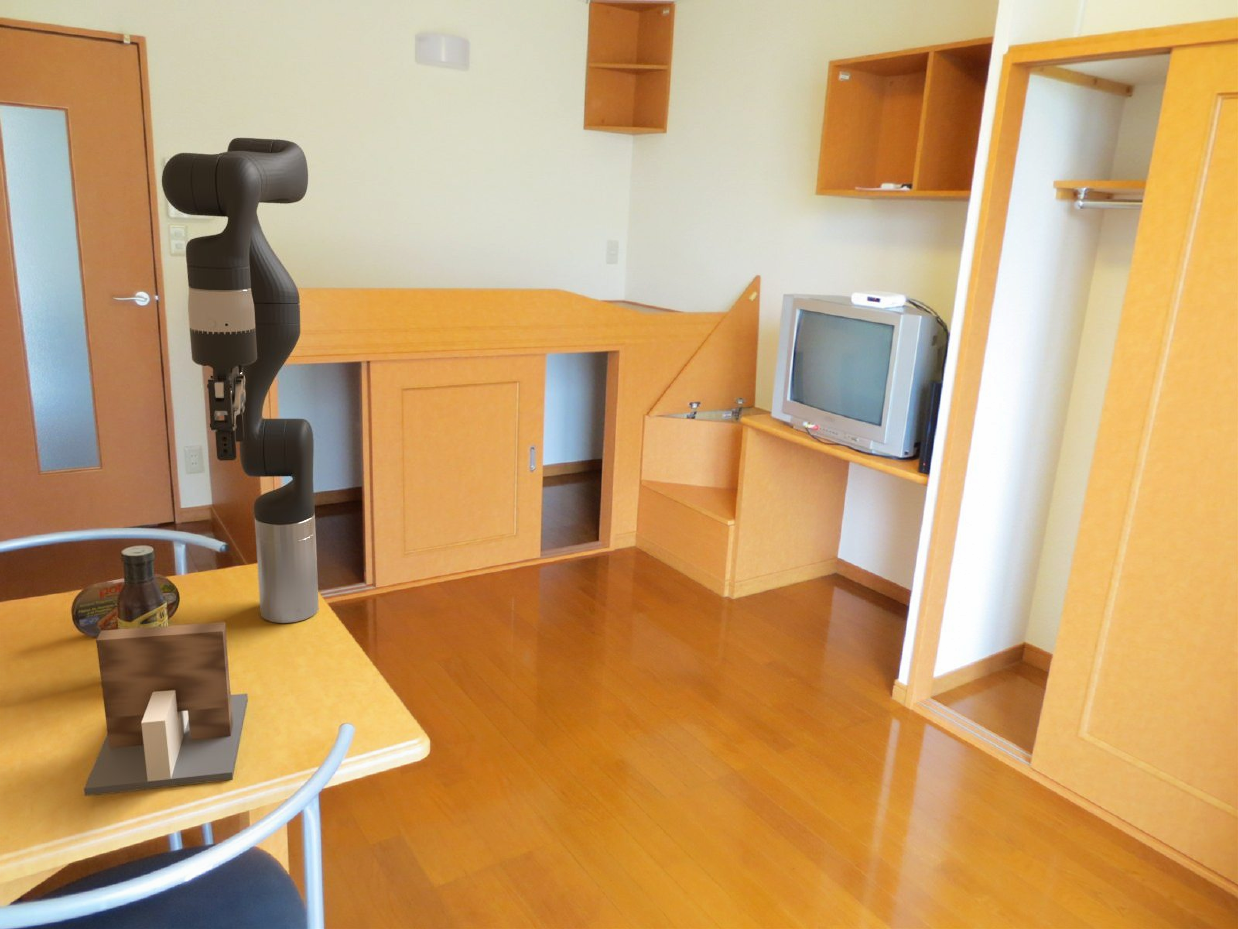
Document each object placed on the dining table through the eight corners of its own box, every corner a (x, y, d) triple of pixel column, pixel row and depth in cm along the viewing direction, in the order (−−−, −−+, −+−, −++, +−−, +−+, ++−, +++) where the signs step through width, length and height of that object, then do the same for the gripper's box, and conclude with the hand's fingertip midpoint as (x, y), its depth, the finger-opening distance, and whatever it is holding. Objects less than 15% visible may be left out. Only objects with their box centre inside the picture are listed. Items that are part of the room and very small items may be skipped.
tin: (75, 643, 139) (69, 593, 136) (72, 635, 141) (66, 585, 139) (182, 621, 148) (178, 573, 145) (178, 613, 150) (173, 566, 148)
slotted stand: (120, 711, 123) (113, 651, 120) (247, 699, 127) (243, 642, 124) (84, 796, 106) (75, 729, 104) (232, 779, 111) (227, 714, 108)
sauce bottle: (152, 694, 127) (138, 563, 121) (113, 687, 128) (97, 557, 122) (183, 671, 133) (171, 545, 127) (145, 665, 134) (132, 539, 128)
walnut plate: (232, 725, 119) (225, 622, 115) (230, 736, 117) (222, 631, 113) (114, 736, 116) (101, 630, 111) (109, 748, 113) (96, 640, 109)
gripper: (249, 334, 107) (257, 466, 112) (260, 316, 120) (267, 434, 125) (179, 333, 105) (190, 467, 110) (198, 315, 118) (207, 435, 123)
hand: (231, 450), depth 117 cm, fingers open, 8 cm apart
